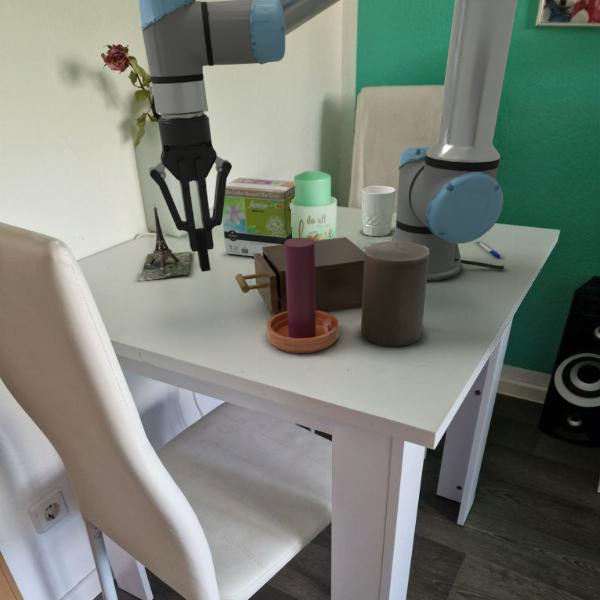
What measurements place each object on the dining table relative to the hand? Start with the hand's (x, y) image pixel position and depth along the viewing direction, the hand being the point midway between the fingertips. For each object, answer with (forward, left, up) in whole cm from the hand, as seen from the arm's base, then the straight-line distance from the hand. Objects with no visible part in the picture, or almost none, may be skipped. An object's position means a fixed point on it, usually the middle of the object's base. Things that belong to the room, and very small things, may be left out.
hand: (205, 268), depth 95 cm
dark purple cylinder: (-13, +16, -7) cm, 21 cm away
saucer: (-13, +16, -8) cm, 22 cm away
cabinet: (-20, +1, -8) cm, 21 cm away
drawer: (-15, +1, -7) cm, 17 cm away
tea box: (-17, -28, -8) cm, 34 cm away
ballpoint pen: (-63, -11, -8) cm, 64 cm away
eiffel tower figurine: (+5, -26, -8) cm, 28 cm away
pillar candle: (-27, +19, -8) cm, 34 cm away
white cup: (-46, -32, -8) cm, 56 cm away
